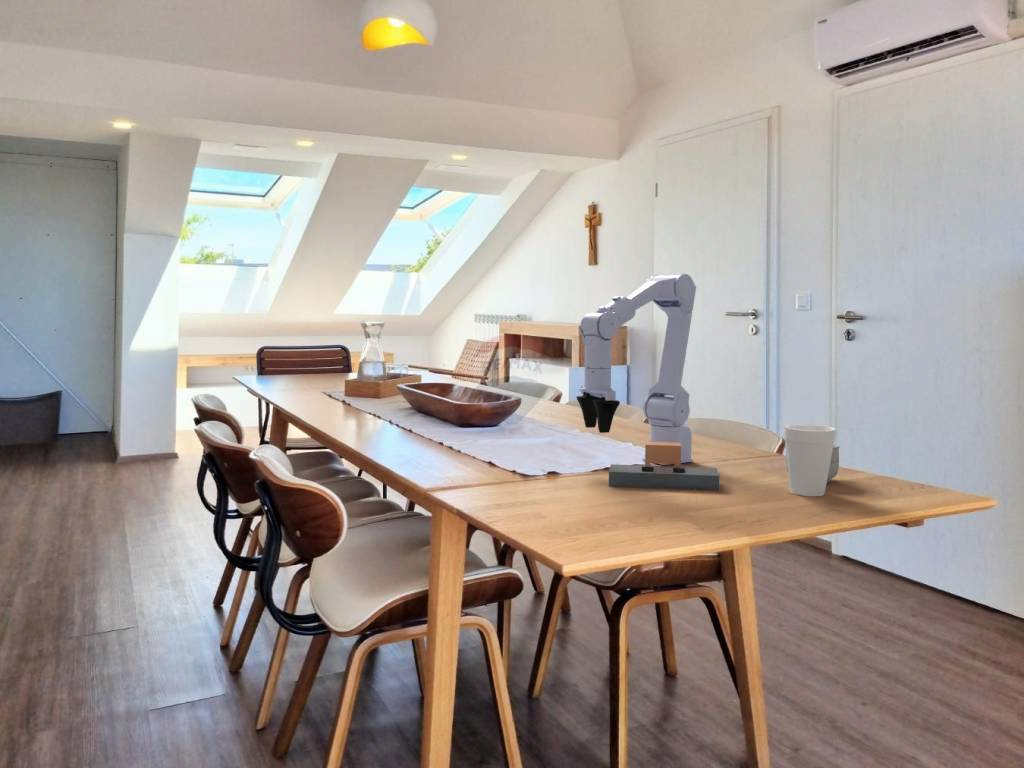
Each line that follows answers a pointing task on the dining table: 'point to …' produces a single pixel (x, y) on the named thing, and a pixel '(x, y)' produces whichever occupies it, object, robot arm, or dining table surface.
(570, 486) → the dining table surface
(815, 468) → the foam cup
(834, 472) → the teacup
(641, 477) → the slate rail
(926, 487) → the dining table surface
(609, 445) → the dining table surface
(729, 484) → the dining table surface
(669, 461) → the tan orange block
